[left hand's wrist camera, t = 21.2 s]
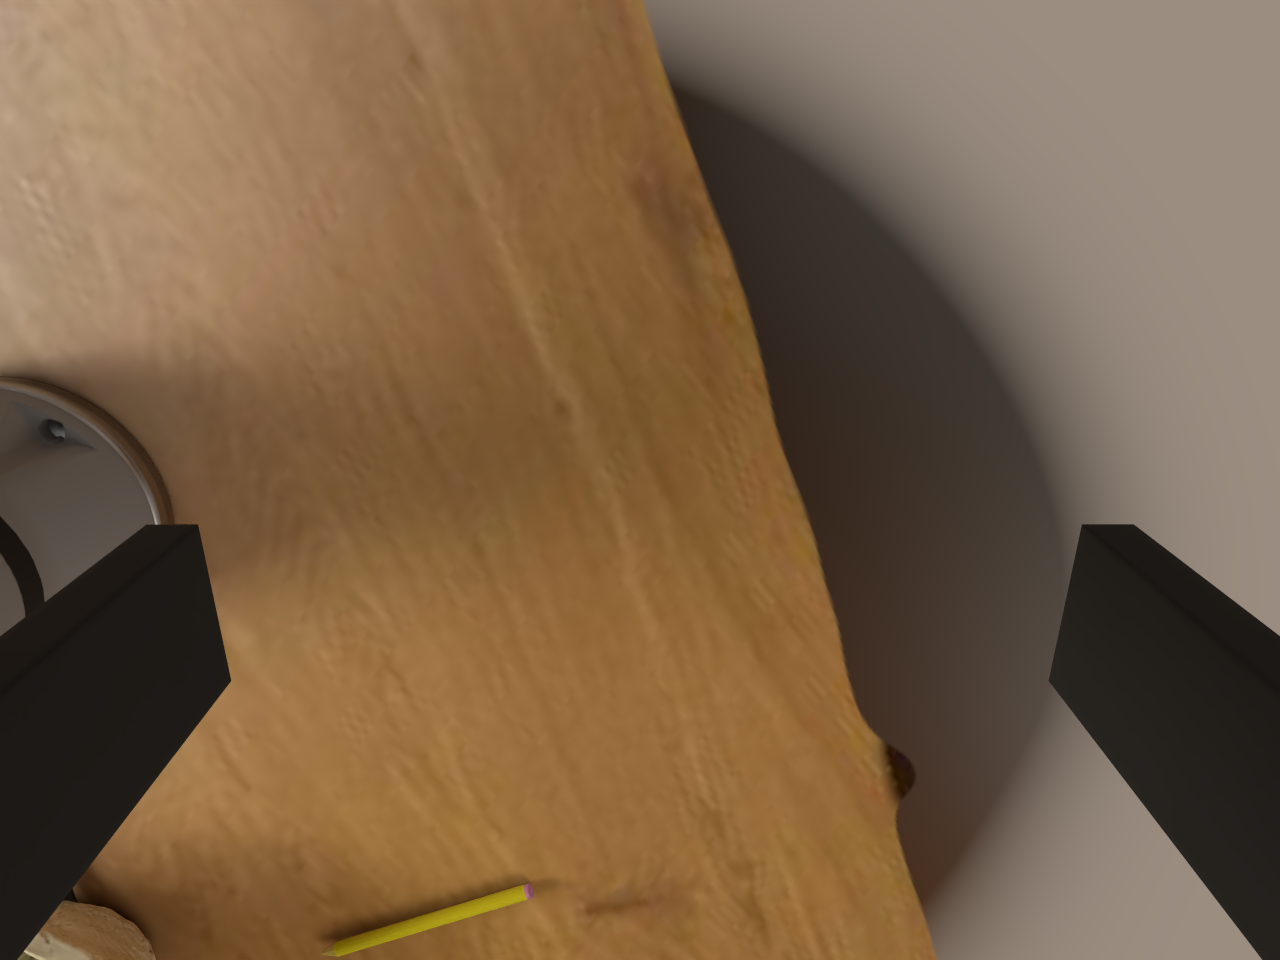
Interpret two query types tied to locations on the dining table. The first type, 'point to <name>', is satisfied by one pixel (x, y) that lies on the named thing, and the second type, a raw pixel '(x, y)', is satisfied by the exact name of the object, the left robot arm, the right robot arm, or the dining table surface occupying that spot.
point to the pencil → (430, 920)
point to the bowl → (88, 936)
